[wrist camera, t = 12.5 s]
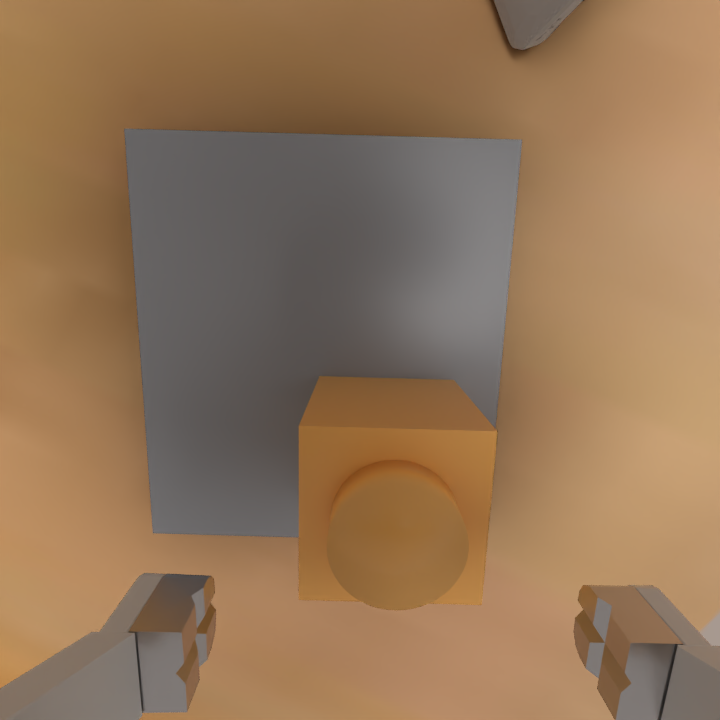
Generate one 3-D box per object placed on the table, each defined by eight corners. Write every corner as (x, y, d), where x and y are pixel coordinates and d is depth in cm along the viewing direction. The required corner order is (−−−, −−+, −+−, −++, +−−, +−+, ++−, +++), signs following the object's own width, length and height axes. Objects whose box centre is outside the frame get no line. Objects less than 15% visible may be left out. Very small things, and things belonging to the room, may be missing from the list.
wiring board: (142, 139, 19) (56, 87, 14) (509, 150, 19) (567, 101, 14) (166, 516, 23) (105, 592, 17) (477, 525, 23) (512, 604, 17)
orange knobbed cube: (319, 376, 20) (290, 445, 12) (453, 379, 20) (514, 451, 12) (318, 499, 21) (291, 636, 13) (445, 503, 21) (495, 642, 13)
